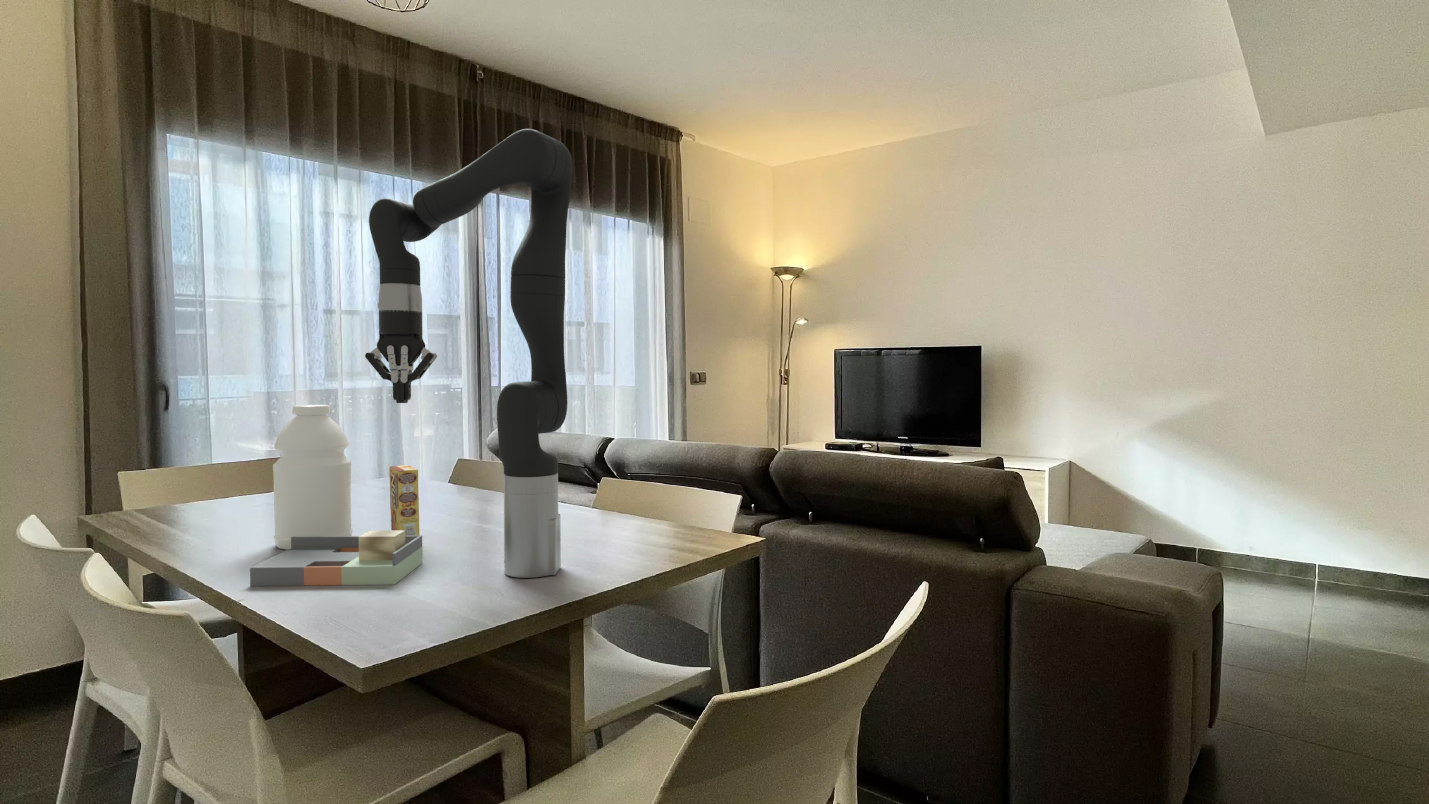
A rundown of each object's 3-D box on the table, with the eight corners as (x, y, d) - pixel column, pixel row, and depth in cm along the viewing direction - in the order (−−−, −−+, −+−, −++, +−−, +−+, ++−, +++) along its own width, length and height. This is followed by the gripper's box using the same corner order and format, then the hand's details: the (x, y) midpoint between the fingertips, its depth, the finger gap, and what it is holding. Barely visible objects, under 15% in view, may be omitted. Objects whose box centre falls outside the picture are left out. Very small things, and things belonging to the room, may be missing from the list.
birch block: (405, 552, 135) (405, 530, 135) (395, 559, 130) (394, 536, 130) (370, 553, 134) (370, 530, 134) (358, 560, 129) (358, 536, 129)
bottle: (262, 552, 147) (259, 407, 146) (289, 536, 161) (287, 403, 160) (340, 549, 150) (337, 406, 148) (360, 534, 163) (358, 403, 162)
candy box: (420, 545, 154) (419, 469, 153) (398, 547, 151) (397, 470, 151) (410, 537, 161) (410, 464, 160) (389, 539, 159) (388, 465, 158)
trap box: (422, 562, 140) (422, 535, 139) (394, 584, 126) (394, 554, 126) (292, 564, 138) (292, 536, 138) (250, 586, 124) (249, 555, 124)
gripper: (442, 311, 147) (443, 402, 147) (372, 311, 146) (373, 402, 147) (430, 308, 139) (431, 404, 140) (355, 308, 138) (357, 403, 139)
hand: (401, 402), depth 143 cm, fingers closed
